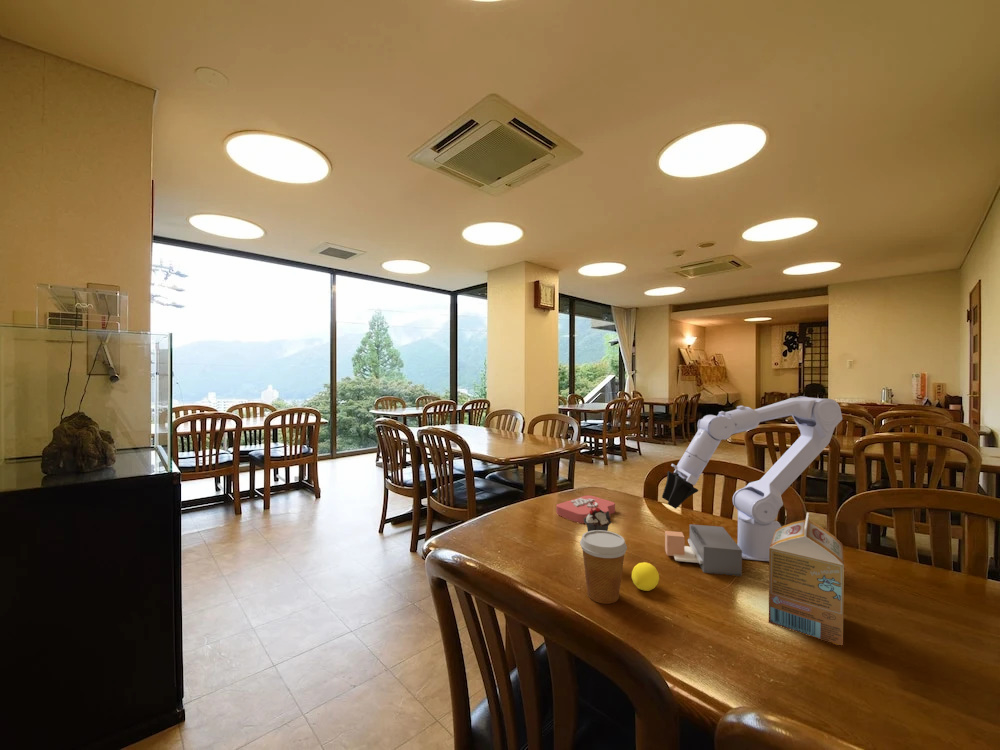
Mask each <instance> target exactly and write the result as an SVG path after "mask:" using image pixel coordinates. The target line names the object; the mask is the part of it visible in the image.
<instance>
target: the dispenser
mask: <svg viewBox="0 0 1000 750" xmlns="http://www.w3.org/2000/svg"><path fill="white" fill-rule="evenodd" d="M687 542H688V545H689V546H690V547H691V548H692V550H693V552H694V554H695V556H696V558H697V559H698V561H699V563H698V564H699V565H698V566H699V567H700V569H701V570H702V572H703V573H707V574H713V573H714V575H716V574H717V575H723V574H726V575H725V576H733V575H735V577H742V576H743V575H742V571H743V570H742V569H743V566H742V565H743V559H742V550H741V549H740V547H739V546H738V545H737V544H738V543H736V541H735V540H734V539H733V538H732V536H731V535H730V534H729V533H728V531H727V530H726V529H725V527H724V526H717V525H704V524H703V525H701V524H694V523H693V524H689V538H688V539H687Z"/></svg>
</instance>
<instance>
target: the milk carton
mask: <svg viewBox="0 0 1000 750" xmlns="http://www.w3.org/2000/svg"><path fill="white" fill-rule="evenodd" d="M809 514H810V513H809V512H806V516H805V519H803V520H802V519H801V520H798V521H793V522H791V523H788V524H785V525H781V527H780V528H779V529H777V530H775V533H774V536H773V539H772V542H771V545H770V547H769V561H768V563H769V564H768V569H769V570H768V623H769V624H770V625H771V624H772V625H774V624H775V626H777V625H778V627H780V626H782V627H781V628H783V627H784V628H783V629H786V628H787V629H786V630H789V629H791V630H790V631H792V630H794V631H793V632H795V631H797V632H796V633H798V632H801V633H804V634H807V635H810V636H813V637H816V638H818V639H817V640H819V639H821V640H820V641H822V640H825V641H828V642H833V643H836V644H839V645H843V646H844V592H845V591H844V589H845V588H844V587H845V586H844V585H845V583H844V580H845V576H844V574H845V573H844V569H845V563H844V549H843V548H844V545H843V543H842V542H840V540H838V539H837V537H835V536H834V535H833V534H832V533H830V532H829V531H827V530H826V529H824V528H823V527H822V526H821V525H818V524H817V523H815V522H813V521H812V520H811V519H809V518H810V517H809V516H810V515H809ZM801 633H800V634H801ZM804 634H803V635H804ZM807 635H806V636H807ZM810 636H809V637H810ZM813 637H812V638H813ZM816 638H815V639H816ZM825 641H824V642H825ZM828 642H827V643H828Z"/></svg>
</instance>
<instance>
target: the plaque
mask: <svg viewBox="0 0 1000 750" xmlns="http://www.w3.org/2000/svg"><path fill="white" fill-rule="evenodd" d="M590 502H593V504H594V505H595V506H596V507H597V508H599V509H600V510H602V511H603V512H604V513H606V512H607V511H609V514H610V515H613V514H615V513H616V503H615V502H614V501H610V500H608V499H604V498H601V497H597V496H593V495H583V496H579V497H576V498H573V499H570V500H566V501H563V502H560V503H557V504H556V509H555V510H556V511H555V512H556V513H557V514H558V515H557V514H556V515H557V516H559V515H560V516H559V517H561V516H562V518H564V517H565V518H564V519H566V518H567V519H566V520H570V521H572V522H575V523H577V522H578V523H577V524H582V525H583V523H584V518H585V517H587V516H588V515H589V514H590V510H591V509H592V510H595V509H596V507H595V506H594V505H593V504H590Z"/></svg>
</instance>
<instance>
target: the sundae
mask: <svg viewBox="0 0 1000 750" xmlns="http://www.w3.org/2000/svg"><path fill="white" fill-rule="evenodd" d="M590 504H593V502H590ZM593 505H594V504H593ZM594 506H595V505H594ZM595 507H596V506H595ZM584 523H585V525H586V528H587V532H588V531H593V530H604V531H609V526H610V525H611V524H612V520H611V514H609V511H607V512H606V513H604V512H603V511H602V510H600V509H599V508H597V507H596V509H595V510H592V509H591V510H590V514H589V515H588V516H587V517H585V518H584Z"/></svg>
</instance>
